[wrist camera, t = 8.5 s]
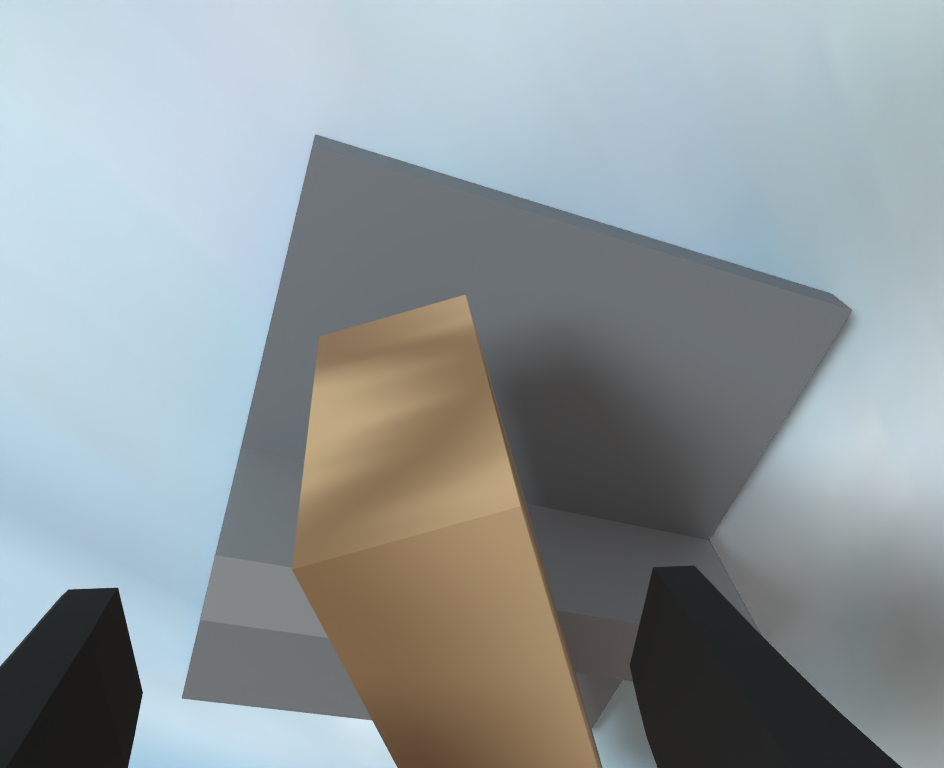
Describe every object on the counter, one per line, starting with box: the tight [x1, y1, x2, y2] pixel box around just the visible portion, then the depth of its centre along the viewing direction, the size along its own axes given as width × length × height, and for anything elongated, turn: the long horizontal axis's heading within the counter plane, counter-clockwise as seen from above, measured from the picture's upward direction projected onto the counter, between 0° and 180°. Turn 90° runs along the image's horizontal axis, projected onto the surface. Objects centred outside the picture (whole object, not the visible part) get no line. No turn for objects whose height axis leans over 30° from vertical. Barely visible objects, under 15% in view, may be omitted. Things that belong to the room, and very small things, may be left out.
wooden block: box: [292, 295, 602, 768], centre depth 16 cm, size 3×18×6 cm, turn 15°
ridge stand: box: [182, 135, 852, 729], centre depth 21 cm, size 14×18×5 cm
